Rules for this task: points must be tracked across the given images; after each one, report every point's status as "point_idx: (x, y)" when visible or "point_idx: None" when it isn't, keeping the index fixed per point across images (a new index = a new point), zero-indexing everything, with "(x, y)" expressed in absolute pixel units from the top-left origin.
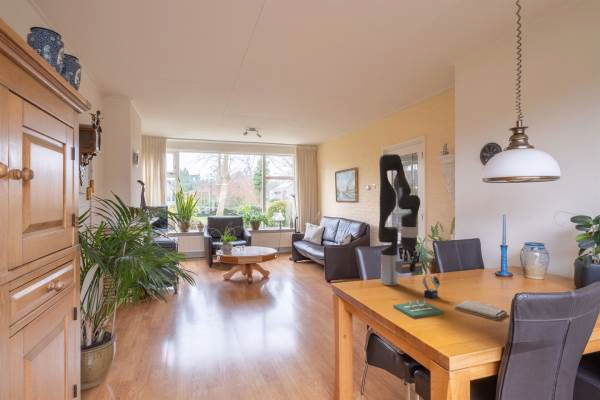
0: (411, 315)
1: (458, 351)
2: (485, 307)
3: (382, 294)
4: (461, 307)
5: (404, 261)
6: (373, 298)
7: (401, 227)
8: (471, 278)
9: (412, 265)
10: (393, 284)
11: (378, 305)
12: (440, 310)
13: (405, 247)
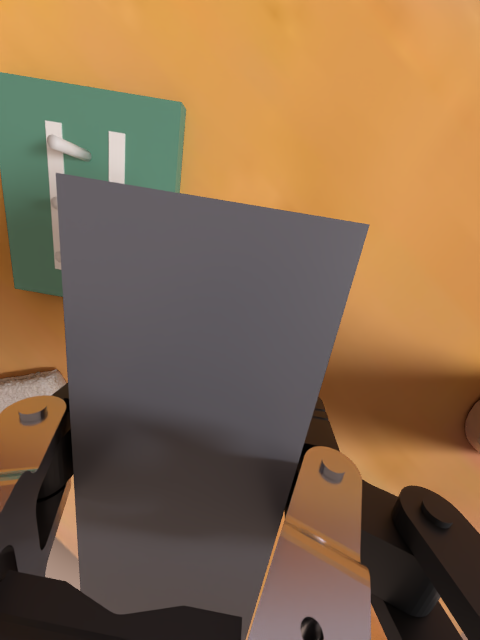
0: (3, 74)
1: None
2: None
3: (404, 234)
4: (23, 381)
5: (207, 403)
6: (385, 112)
7: None
8: None
9: (62, 397)
10: (475, 413)
11: (259, 35)
12: (24, 280)
13: None
